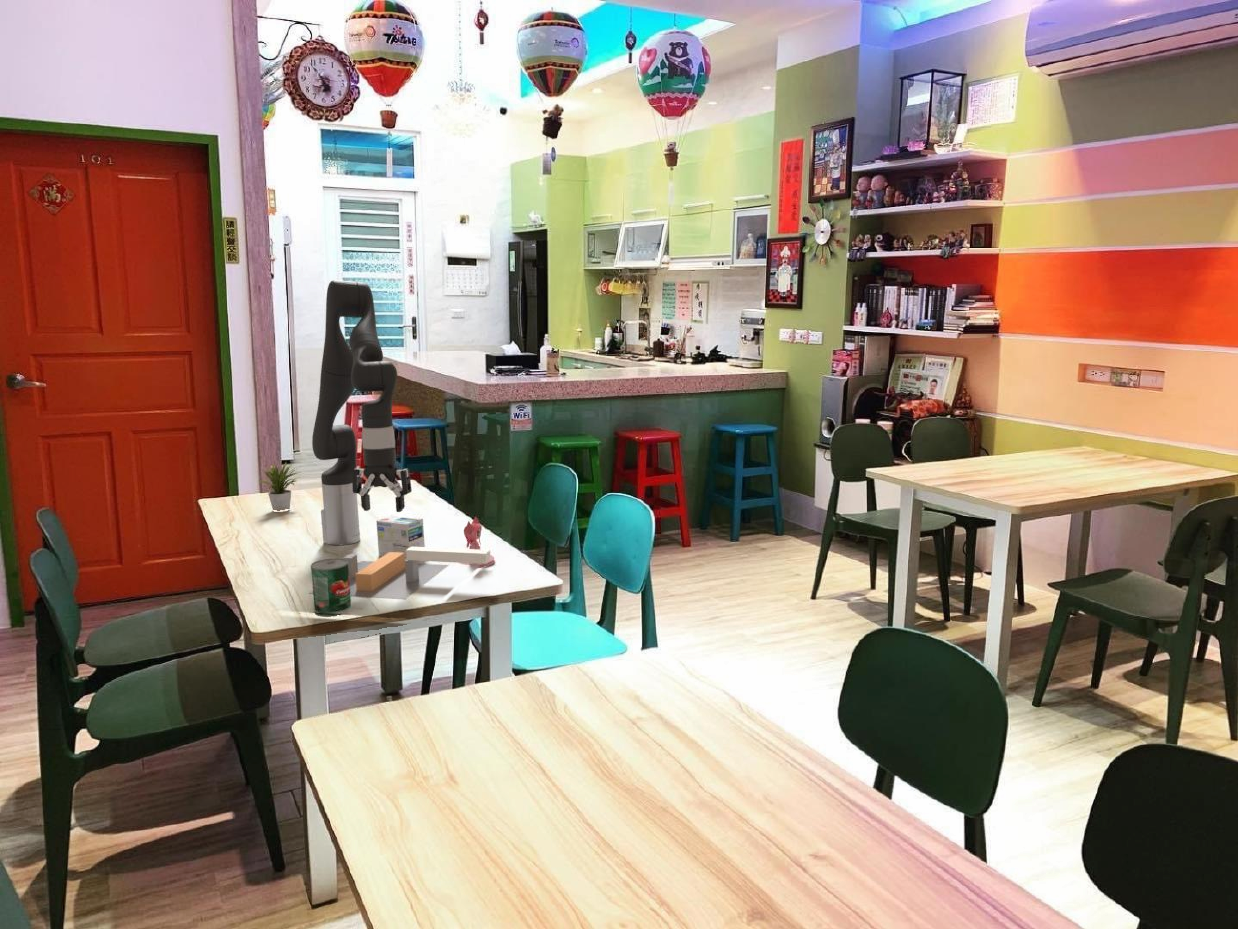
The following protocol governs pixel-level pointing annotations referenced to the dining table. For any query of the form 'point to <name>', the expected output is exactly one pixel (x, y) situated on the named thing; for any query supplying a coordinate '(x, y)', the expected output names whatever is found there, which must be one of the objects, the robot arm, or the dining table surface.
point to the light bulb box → (399, 534)
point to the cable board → (393, 579)
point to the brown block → (380, 571)
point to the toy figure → (471, 535)
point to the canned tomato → (330, 586)
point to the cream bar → (448, 555)
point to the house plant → (279, 487)
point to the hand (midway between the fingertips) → (383, 510)
